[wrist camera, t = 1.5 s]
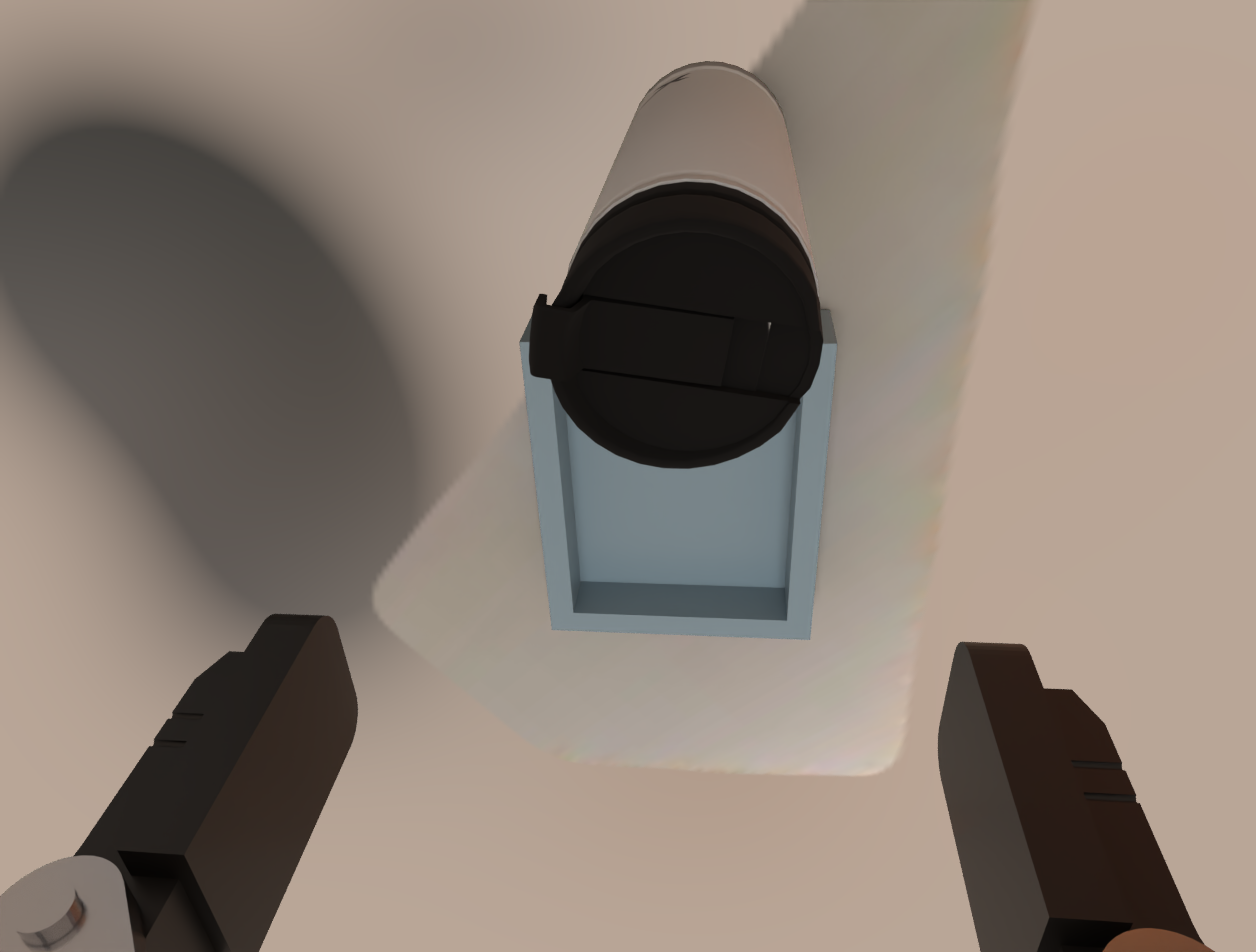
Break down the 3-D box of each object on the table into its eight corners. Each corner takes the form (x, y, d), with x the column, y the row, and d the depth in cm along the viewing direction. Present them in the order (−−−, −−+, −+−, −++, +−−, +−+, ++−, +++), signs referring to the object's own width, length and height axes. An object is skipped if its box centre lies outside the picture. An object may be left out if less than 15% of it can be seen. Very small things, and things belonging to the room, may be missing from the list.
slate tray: (534, 309, 41) (519, 342, 38) (829, 309, 40) (837, 343, 37) (562, 585, 50) (552, 629, 47) (805, 594, 48) (810, 639, 45)
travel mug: (632, 46, 35) (535, 197, 18) (803, 74, 35) (866, 251, 18) (612, 208, 38) (515, 461, 22) (768, 234, 38) (792, 507, 21)
